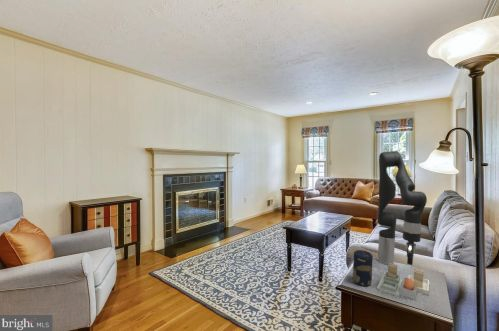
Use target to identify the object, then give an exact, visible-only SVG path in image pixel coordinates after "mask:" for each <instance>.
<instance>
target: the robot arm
mask: <svg viewBox="0 0 499 331" xmlns="http://www.w3.org/2000/svg"><path fill="white" fill-rule="evenodd" d="M378 162H379V163H378V167H379V168H378V169H379V170H378V171H379V183H378V206H377V208H378V209H377V218H376V220H377V224H378V226H383V227H388V228H386V229H381V230H379V232H378V246H377V247H378V249H377V261H378V262H379V263H381V264H384V265H389V263H391V264H394V263H395V262H394V261H395V260H394V259H395V243H396V226H397V214H396V213H395V212H390V211H389V212H388V211H385V209H386V207H387V206H388V205H389V204H390V203H391V202H392V201H393V200H394V199H395V197H396V192H397V191H396V190H397V187H398V189H399V190H400V198H401V201H402V204H404V205H406V206H413V207H412V208H409V209H405V211H404V218H403V219H404V221H403V224H402V226H403V227H402V239H403V240H405V241H407V242H406V243H405V247H406V251H405V252H406V257H407V258H406V263H407V265H409V266H413V264H414V261H413V260H414V255H415V253H416V247H417V244H416V243H419V242H421V237H422V236H421V235H422V215H423V212H424V209H425V207H426V205H427V202H428V198H427V195H426V193H424V192H423V191H415V189H416V185H415V183H414V181H413V180H412V178H411V177H410V175H409V173H408V171H407V167H406V164H405V162H404V160H403V157H402V154H401V153H400V152H399V151H398V150H393V151H383V152H381V153H380V154H379V157H378ZM393 167H396V168H397V172H396V174H395V177H394V178H395V182H394V181H393V179H392V178H391V176H389V174H388V170H387V169H388V168H393ZM395 183H396V184H397V185H396V184H395ZM396 186H397V187H396Z"/></svg>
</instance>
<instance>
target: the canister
mask: <svg viewBox="0 0 499 331" xmlns="http://www.w3.org/2000/svg"><path fill="white" fill-rule="evenodd" d="M352 264H353V266H352V280H353V282H354V283H355V284H357V285H360V286H363V287H364V286H365V287H367V286H370V285H372V282H373V281H372V280H373V254H372V253H371V252H369V251H367V250H362V249H357V250H355V251H354V252H353V262H352Z"/></svg>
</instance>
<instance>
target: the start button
mask: <svg viewBox="0 0 499 331" xmlns="http://www.w3.org/2000/svg"><path fill="white" fill-rule="evenodd" d="M403 282H404V288H407V289H411V290H413V286H414V281H413V280H412V279H409V278H408V277H405V278H404V279H403Z"/></svg>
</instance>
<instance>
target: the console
mask: <svg viewBox="0 0 499 331" xmlns="http://www.w3.org/2000/svg"><path fill="white" fill-rule="evenodd" d="M417 295H418V292H417V286H413V290H411V289H407V288H404V281H403V282H401V285H400V293H399V296H401V297H404V298H408V299H411V300H413V301H416V300H417V297H418V296H417Z"/></svg>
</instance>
